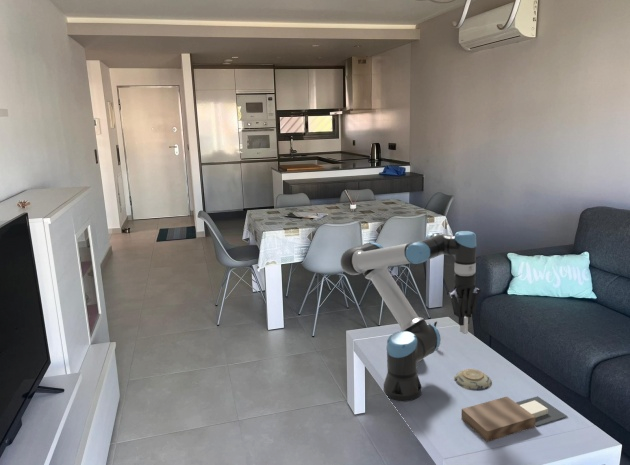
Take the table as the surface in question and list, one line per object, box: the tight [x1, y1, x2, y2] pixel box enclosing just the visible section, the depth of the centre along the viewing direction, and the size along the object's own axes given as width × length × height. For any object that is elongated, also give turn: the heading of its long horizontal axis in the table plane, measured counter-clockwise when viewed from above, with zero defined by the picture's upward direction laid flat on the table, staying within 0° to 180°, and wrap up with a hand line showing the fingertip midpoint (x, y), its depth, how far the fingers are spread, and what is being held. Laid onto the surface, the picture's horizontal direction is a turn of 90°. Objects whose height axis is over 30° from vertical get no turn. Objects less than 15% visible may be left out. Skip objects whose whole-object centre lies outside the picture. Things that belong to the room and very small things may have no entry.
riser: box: [461, 396, 536, 443], centre depth 169 cm, size 20×14×4 cm
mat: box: [516, 395, 568, 427], centre depth 175 cm, size 14×14×1 cm
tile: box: [520, 400, 548, 418], centre depth 174 cm, size 9×6×2 cm, turn 111°
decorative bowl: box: [453, 368, 493, 391], centre depth 197 cm, size 15×4×15 cm
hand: (463, 332), depth 182 cm, fingers closed
